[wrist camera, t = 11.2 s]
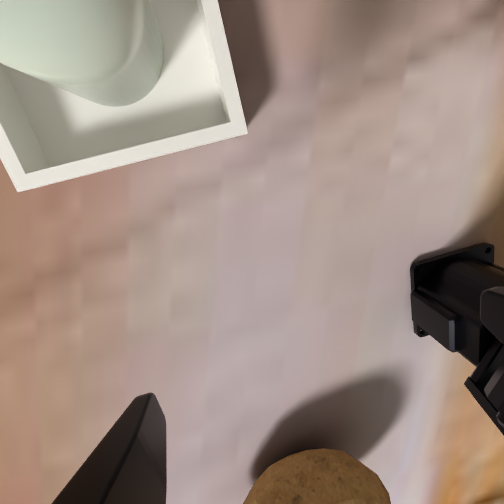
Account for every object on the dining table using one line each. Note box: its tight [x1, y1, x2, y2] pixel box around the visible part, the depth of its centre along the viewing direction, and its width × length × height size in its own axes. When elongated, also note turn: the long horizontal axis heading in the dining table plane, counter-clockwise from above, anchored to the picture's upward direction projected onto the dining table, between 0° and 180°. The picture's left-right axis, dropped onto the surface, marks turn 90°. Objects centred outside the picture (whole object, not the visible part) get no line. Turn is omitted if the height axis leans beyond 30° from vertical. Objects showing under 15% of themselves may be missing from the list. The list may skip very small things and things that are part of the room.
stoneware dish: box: [0, 0, 248, 192], centre depth 14 cm, size 11×11×3 cm
